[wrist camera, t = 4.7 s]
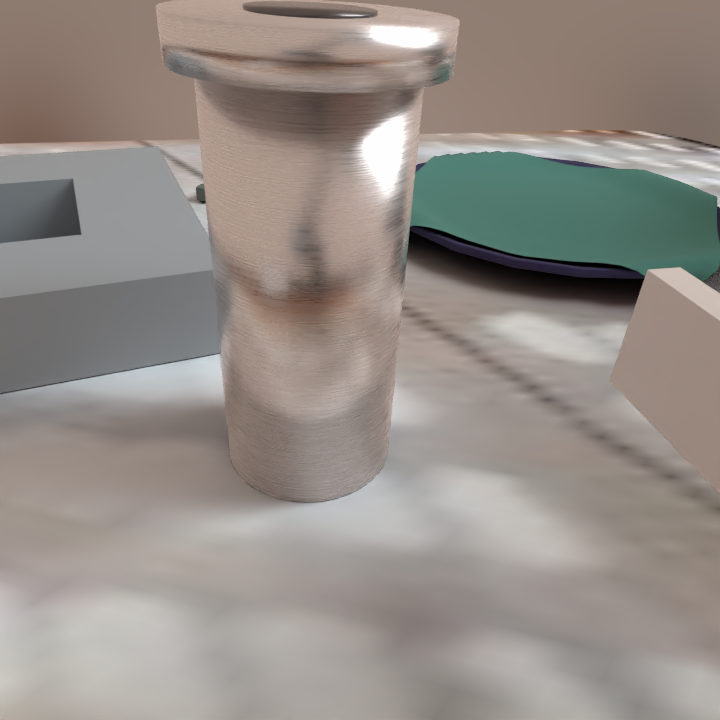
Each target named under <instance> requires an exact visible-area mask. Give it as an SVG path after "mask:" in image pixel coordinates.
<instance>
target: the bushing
mask: <svg viewBox="0 0 720 720" xmlns="http://www.w3.org/2000/svg"><path fill="white" fill-rule="evenodd" d="M156 13H157V21H158V30H159V38H160V46H161V54H162V63H163V65H164V66H165V67H166V68H168V69H169V70H171V71H173V72H175V73H178V74H181V75H184V76H187V77H191V78H194V83H195V94H196V104H197V114H198V125H199V136H200V146H201V157H202V167H203V178H204V188H205V199H206V209H207V220H208V231H209V241H210V252H211V262H212V273H213V283H214V294H215V304H216V315H217V325H218V336H219V346H220V357H221V367H222V378H223V388H224V399H225V409H226V420H227V430H228V441H229V451H230V458H231V461H232V464H233V466H234V468H235V470H236V471H237V473H238V474H239V475H240V477H241V478H242V479H243V480H244V481H245V482H247V483H248V484H249V485H251V486H252V487H253V488H255V489H257V490H259V491H260V492H262V493H265V494H267V495H270V496H272V497H276V498H279V499H283V500H289V501H296V502H319V501H327V500H332V499H336V498H340V497H343V496H346V495H348V494H351V493H353V492H355V491H357V490H359V489H360V488H362V487H364V486H365V485H367V484H368V483H369V482H370V481H371V480H373V479H374V478H375V477H376V475H377V474H378V473H379V472H380V470H381V469H382V467H383V465H384V463H385V461H386V457H387V453H388V443H389V433H390V423H391V413H392V403H393V393H394V383H395V373H396V362H397V352H398V342H399V332H400V322H401V312H402V302H403V292H404V282H405V271H406V261H407V251H408V241H409V231H410V221H411V211H412V201H413V191H414V180H415V170H416V160H417V150H418V140H419V129H420V120H421V110H422V100H423V89H424V87H428V86H433V85H437V84H440V83H443V82H445V81H448V80H449V79H450V78H452V76H453V71H454V62H455V55H456V46H457V38H458V30H459V20H458V19H457V18H455V17H452V16H448V15H444V14H440V13H435V12H430V11H424V10H417V9H410V8H403V7H394V6H385V5H375V4H364V3H351V2H337V1H322V0H321V1H320V0H176V1H168V2H163V3H160V4H157V5H156Z"/></svg>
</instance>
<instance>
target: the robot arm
mask: <svg viewBox="0 0 720 720" xmlns="http://www.w3.org/2000/svg"><path fill="white" fill-rule="evenodd" d="M610 382H611V383H612V384H613V385H614V386H615V387H616V388H617V389H618V390H619V391H620V392H621V393H622V394H623V395H624V396H625V397H626V398H627V399H628V400H629V401H630V402H631V403H632V404H633V405H634V406H635V407H636V408H637V409H638V410H639V412H640V413H641V414H642V415H643V416H644V417H645V418H646V419H647V420H648V421H649V422H650V423H651V424H652V425H653V426H654V427H655V428H656V429H657V430H658V431H659V432H660V433H661V434H662V435H663V436H664V437H665V438H666V439H667V440H668V441H669V442H670V443H671V444H672V445H673V446H674V447H675V448H676V449H677V451H678V452H679V453H680V454H681V455H682V456H683V457H684V458H685V459H686V460H687V461H688V462H689V463H690V464H691V465H692V466H693V467H694V468H695V469H696V470H697V471H698V472H699V473H700V474H701V475H702V476H703V477H704V478H705V479H706V480H707V481H708V482H709V483H710V484H711V485H712V486H713V487H714V489H715V490H716V491H717V492H718V493H719V494H720V293H719V292H717V291H716V290H714V289H712V288H711V287H709V286H708V285H706V284H705V283H703V282H702V281H700V280H699V279H697V278H696V277H694V276H693V275H691V274H690V273H688V272H687V271H685V270H684V269H682V268H681V267H676V268H663V269H649V270H647V273H646V276H645V279H644V282H643V285H642V287H641V290H640V293H639V296H638V299H637V302H636V305H635V308H634V311H633V314H632V317H631V320H630V323H629V326H628V329H627V331H626V334H625V337H624V340H623V343H622V346H621V349H620V352H619V355H618V358H617V361H616V364H615V367H614V370H613V373H612V375H611V378H610Z"/></svg>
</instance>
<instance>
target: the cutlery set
mask: <svg viewBox="0 0 720 720" xmlns="http://www.w3.org/2000/svg"><path fill="white" fill-rule="evenodd" d="M196 193H197V200H200V201H205V202H206V199H205V188H204V184H200V185H199V186H197V187H196ZM410 230H411V231H412V232H414V233H416V234H418V235H420V236H423V237H425V238H427V239H429V240H431V241H433V242H436V243H438V244H440V245H442V246H444V247H446V248H448V249H451V250H453V251H455V252H459V253H462V254H466V255H469V256H473V257H477V258H480V259H484V260H487V261H491V262H495V263H498V264H502V265H506V266H509V267H513V268H519V269H526V270H533V271H540V272H546V273H553V274H560V275H567V276H574V277H583V278H632V279H645V276H646V273H647V270H649V269H663V268H676V267H681V268H682V269H684V270H685V271H687V272H688V273H690V274H691V275H693V276H694V277H696V278H697V279H699V280H700V281H705V280H706V279H707V278H709V277H710V276H711V275H712V274H713V273H714V272H716V271H717V269H718V267H719V265H720V208H719V207H717V197H716V196H713V195H711V194H708V193H706V192H703V191H701V190H699V189H697V188H695V187H692V186H690V185H688V184H685V183H682V182H680V181H677V180H674V179H671V178H668V177H664V176H661V175H658V174H655V173H652V172H649V171H646V170H638V169H615V168H610V167H605V166H599V165H594V164H588V163H583V162H578V161H569V160H559V159H550V158H541V157H534V156H531V155H527V154H522V153H516V152H504V153H503V152H500V151H496V152H491V153H489V152H481V153H474V152H473V153H468V154H463V153H459V154H454V155H450V154H446V155H442V156H439V157H438V156H434V157H433V158H431V159H430V160H429V161H428V162H426V163H421V164H418V165H416V170H415V180H414V191H413V201H412V211H411V221H410Z"/></svg>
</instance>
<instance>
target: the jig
mask: <svg viewBox="0 0 720 720" xmlns="http://www.w3.org/2000/svg"><path fill="white" fill-rule="evenodd" d="M217 353H220V346H219V336H218V325H217V315H216V304H215V294H214V283H213V273H212V262H211V252H210V241H209V237H208V235H207V233H206V232H205V230H204V228H203V226H202V225H201V223H200V221H199V219H198V217H197V216H196V214H195V212H194V210H193V209H192V207H191V205H190V203H189V201H188V200H187V198H186V196H185V194H184V193H183V191H182V189H181V187H180V185H179V184H178V182H177V180H176V178H175V177H174V175H173V173H172V171H171V169H170V168H169V166H168V164H167V162H166V161H165V159H164V157H163V155H162V153H161V152H160V150H159V148H158V147H144V148H127V149H111V150H94V151H78V152H62V153H45V154H29V155H12V156H0V393H4V392H10V391H15V390H20V389H26V388H31V387H37V386H42V385H48V384H53V383H59V382H64V381H70V380H75V379H81V378H86V377H91V376H97V375H102V374H108V373H113V372H119V371H124V370H130V369H135V368H141V367H146V366H152V365H157V364H162V363H168V362H173V361H179V360H184V359H190V358H195V357H201V356H206V355H212V354H217Z"/></svg>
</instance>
